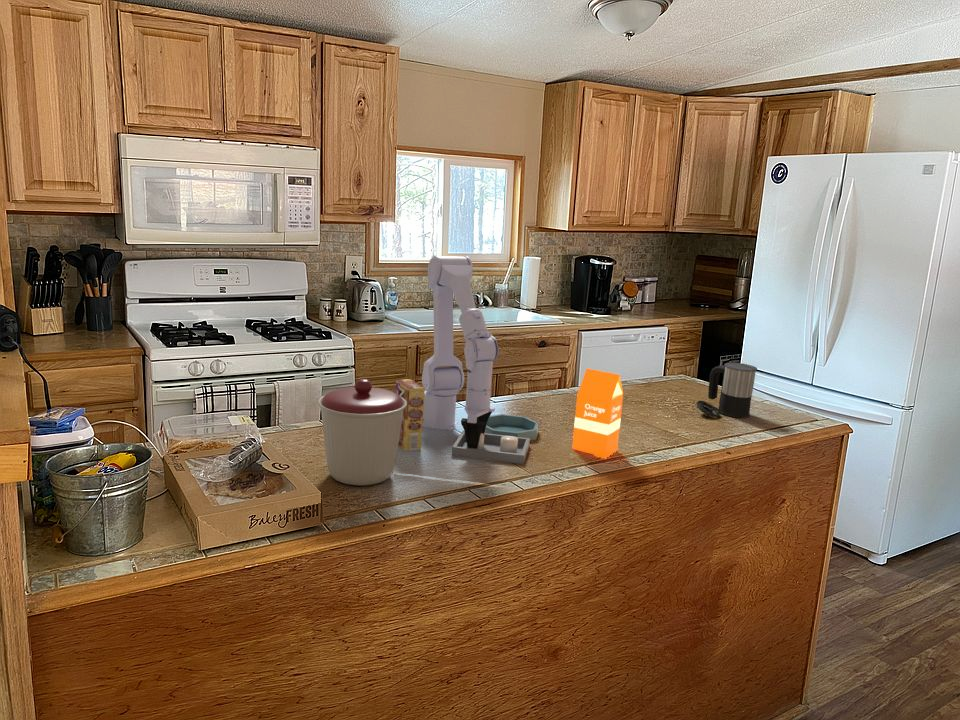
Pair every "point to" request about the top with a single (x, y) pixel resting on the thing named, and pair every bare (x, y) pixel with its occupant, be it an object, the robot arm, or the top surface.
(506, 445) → the pebble
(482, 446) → the pebble
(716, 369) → the milk frother
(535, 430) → the bowl
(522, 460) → the tray
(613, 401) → the orange juice
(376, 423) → the canister
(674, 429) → the top surface
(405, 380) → the candy box
